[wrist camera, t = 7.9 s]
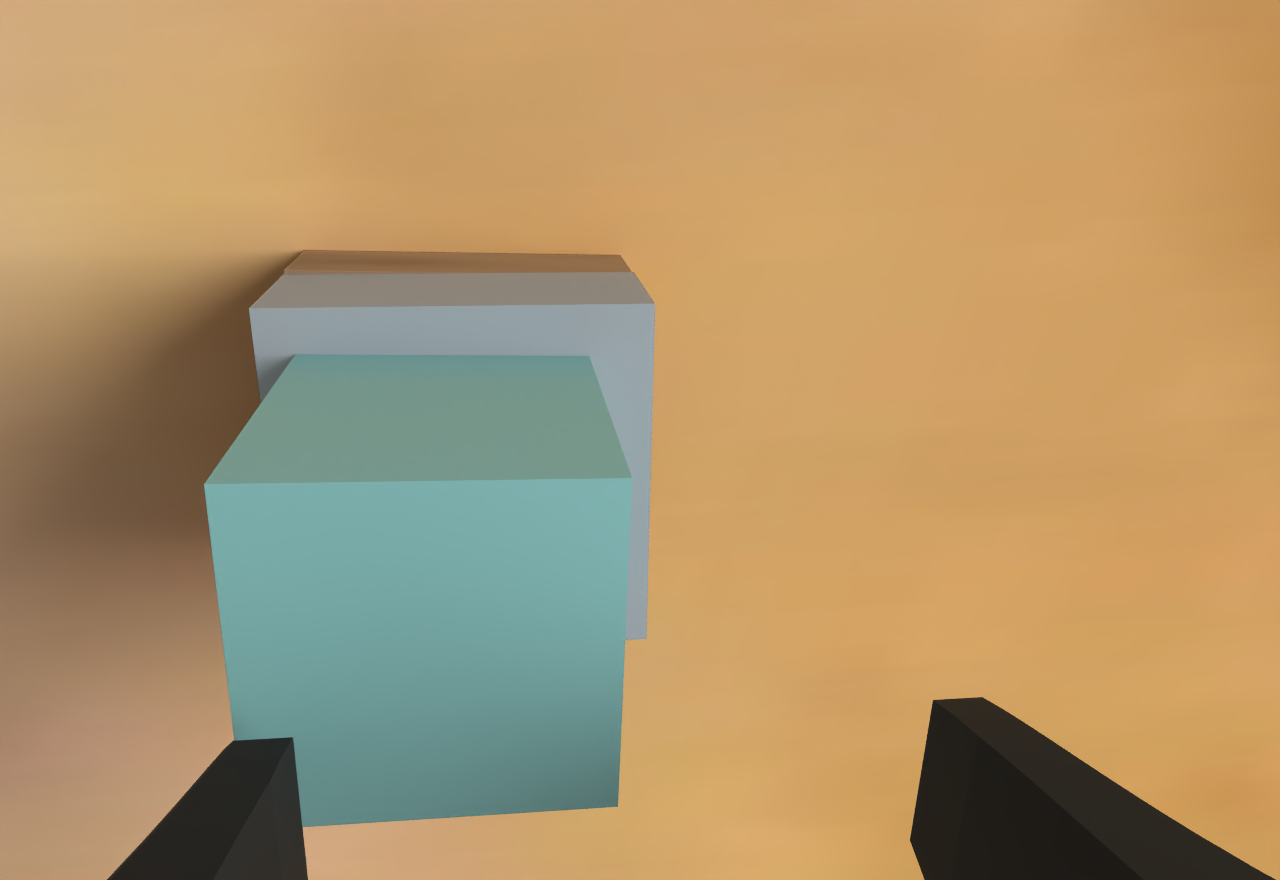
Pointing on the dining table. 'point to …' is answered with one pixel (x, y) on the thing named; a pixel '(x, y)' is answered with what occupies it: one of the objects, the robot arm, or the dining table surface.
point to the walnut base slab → (448, 263)
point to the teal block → (428, 584)
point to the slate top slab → (486, 346)
